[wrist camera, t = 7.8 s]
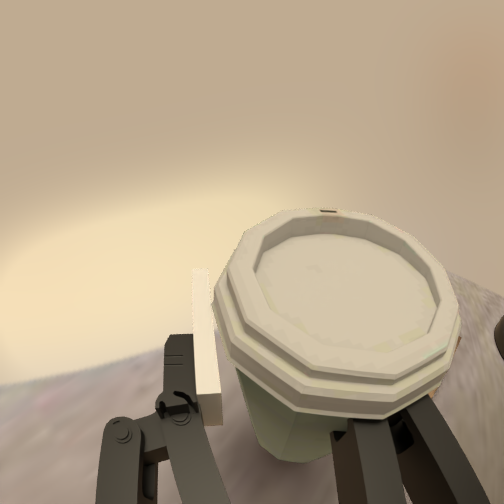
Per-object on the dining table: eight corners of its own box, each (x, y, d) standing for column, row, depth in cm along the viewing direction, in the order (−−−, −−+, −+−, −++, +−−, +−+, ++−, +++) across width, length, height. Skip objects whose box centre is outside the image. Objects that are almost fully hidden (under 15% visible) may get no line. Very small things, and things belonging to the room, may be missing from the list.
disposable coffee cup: (372, 476, 14) (523, 346, 6) (218, 492, 13) (188, 393, 5) (345, 367, 23) (408, 210, 15) (221, 370, 22) (220, 195, 14)
